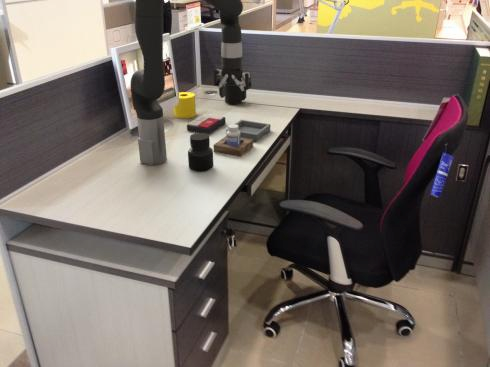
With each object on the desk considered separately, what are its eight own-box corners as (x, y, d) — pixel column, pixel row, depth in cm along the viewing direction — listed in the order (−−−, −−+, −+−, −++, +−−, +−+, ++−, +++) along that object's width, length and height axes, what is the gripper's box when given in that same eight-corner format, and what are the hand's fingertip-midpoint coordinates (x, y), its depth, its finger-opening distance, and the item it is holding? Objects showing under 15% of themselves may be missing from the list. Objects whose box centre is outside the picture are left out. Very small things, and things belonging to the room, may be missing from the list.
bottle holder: (240, 157, 179) (240, 149, 178) (213, 152, 184) (213, 144, 182) (253, 146, 188) (253, 139, 187) (227, 141, 193) (227, 135, 191)
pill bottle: (232, 145, 189) (232, 122, 185) (243, 148, 186) (243, 125, 182) (223, 149, 186) (223, 126, 181) (234, 153, 183) (234, 129, 178)
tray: (256, 141, 193) (256, 134, 191) (226, 136, 198) (226, 129, 197) (270, 130, 204) (270, 124, 203) (241, 126, 210) (241, 119, 208)
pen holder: (246, 101, 242) (246, 82, 238) (236, 106, 235) (236, 86, 231) (231, 98, 247) (230, 79, 242) (220, 103, 240) (220, 83, 235)
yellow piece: (183, 110, 230) (181, 91, 226) (199, 113, 226) (199, 94, 221) (170, 115, 222) (168, 96, 218) (187, 119, 218) (185, 99, 214)
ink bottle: (219, 165, 172) (218, 134, 167) (205, 174, 165) (203, 142, 160) (197, 160, 177) (195, 129, 171) (182, 168, 170) (180, 137, 164)
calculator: (186, 123, 203) (204, 111, 215) (186, 132, 205) (205, 120, 217) (207, 127, 199) (225, 115, 210) (208, 137, 201) (226, 124, 212)
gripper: (209, 55, 169) (211, 99, 177) (245, 58, 164) (245, 103, 171) (219, 51, 175) (220, 93, 183) (254, 54, 170) (254, 98, 177)
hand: (232, 98), depth 177 cm, fingers open, 8 cm apart
